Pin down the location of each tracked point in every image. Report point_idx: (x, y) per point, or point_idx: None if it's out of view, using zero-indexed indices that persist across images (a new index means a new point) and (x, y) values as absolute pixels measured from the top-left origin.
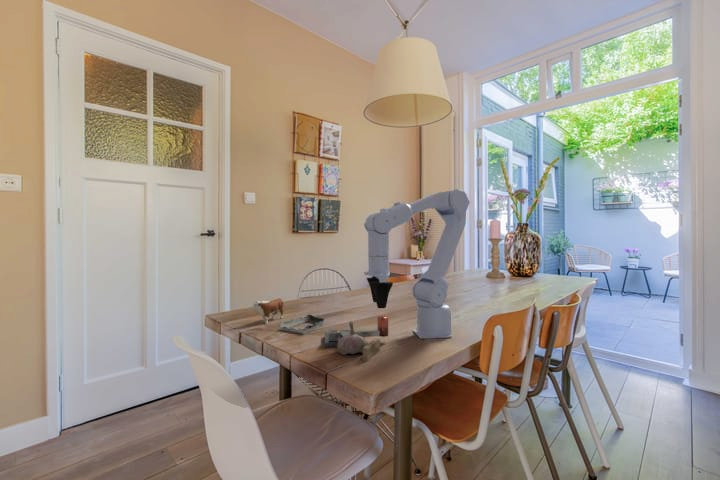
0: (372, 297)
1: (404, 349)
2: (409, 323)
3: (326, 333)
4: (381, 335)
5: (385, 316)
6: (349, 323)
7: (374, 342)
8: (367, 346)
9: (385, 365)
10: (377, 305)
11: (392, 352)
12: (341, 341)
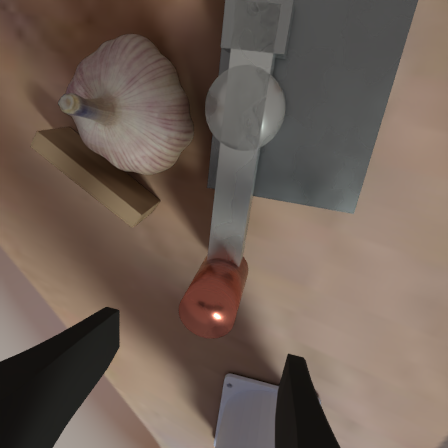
0: (291, 377)
1: (148, 286)
2: (431, 437)
3: (400, 2)
4: (206, 257)
5: (213, 329)
6: (67, 94)
7: (91, 193)
8: (50, 153)
9: (33, 184)
10: (93, 314)
11: (128, 243)
12: (105, 50)
